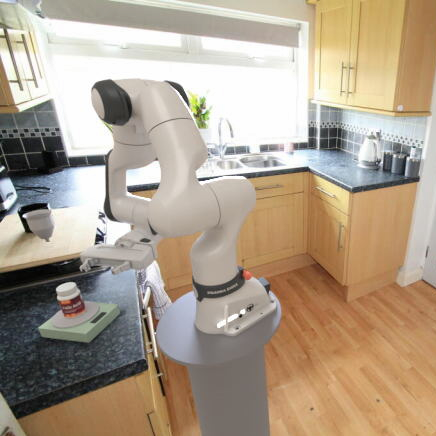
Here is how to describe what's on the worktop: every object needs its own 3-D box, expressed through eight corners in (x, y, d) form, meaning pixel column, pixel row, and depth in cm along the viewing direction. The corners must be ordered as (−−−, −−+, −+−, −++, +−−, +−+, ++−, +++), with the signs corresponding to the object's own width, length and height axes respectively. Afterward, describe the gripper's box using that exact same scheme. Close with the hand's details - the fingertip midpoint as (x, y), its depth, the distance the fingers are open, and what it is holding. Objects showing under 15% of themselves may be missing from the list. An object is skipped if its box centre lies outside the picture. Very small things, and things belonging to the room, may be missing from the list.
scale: (77, 308, 90) (74, 298, 88) (120, 313, 89) (117, 302, 87) (41, 337, 80) (36, 326, 78) (89, 342, 79) (85, 331, 77)
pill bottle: (65, 322, 80) (54, 295, 77) (63, 312, 83) (52, 285, 80) (88, 313, 83) (78, 287, 79) (85, 304, 86) (76, 278, 83)
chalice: (41, 267, 107) (22, 219, 100) (41, 259, 112) (22, 212, 105) (68, 261, 112) (51, 214, 104) (67, 253, 116) (51, 207, 109)
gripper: (98, 235, 101) (60, 258, 89) (159, 241, 99) (128, 264, 87) (103, 253, 104) (67, 277, 91) (162, 258, 102) (133, 283, 90)
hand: (97, 271), depth 89 cm, fingers open, 8 cm apart
